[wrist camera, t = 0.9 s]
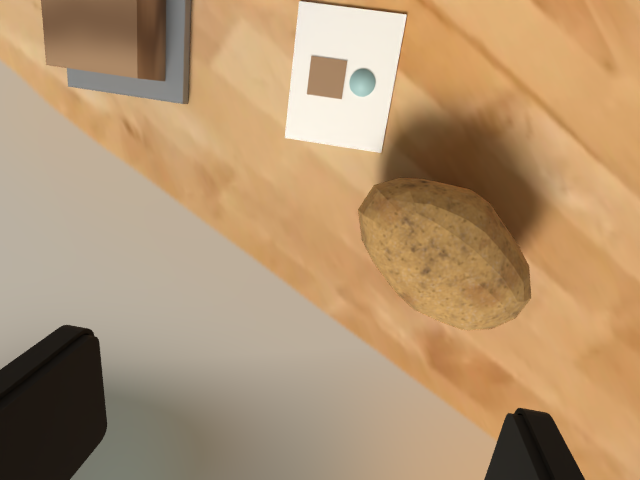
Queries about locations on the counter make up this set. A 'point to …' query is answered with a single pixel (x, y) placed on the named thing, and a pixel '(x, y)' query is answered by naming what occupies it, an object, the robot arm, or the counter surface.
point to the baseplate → (174, 71)
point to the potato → (445, 252)
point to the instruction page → (343, 75)
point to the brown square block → (107, 36)
